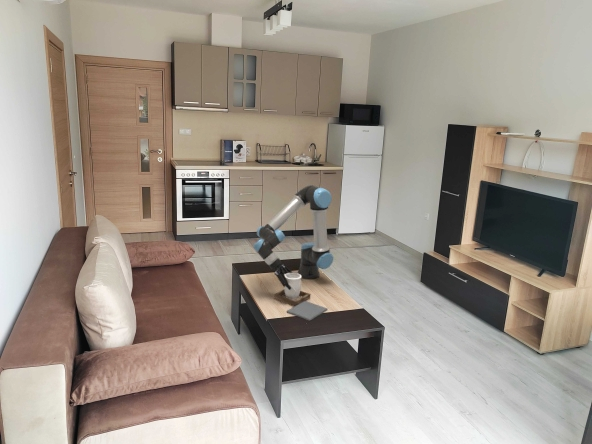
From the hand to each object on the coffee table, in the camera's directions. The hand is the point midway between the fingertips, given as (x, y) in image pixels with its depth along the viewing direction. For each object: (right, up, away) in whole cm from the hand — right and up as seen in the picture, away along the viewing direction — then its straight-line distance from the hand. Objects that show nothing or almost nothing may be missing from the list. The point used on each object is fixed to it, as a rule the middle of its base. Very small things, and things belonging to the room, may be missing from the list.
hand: (297, 289), depth 275 cm
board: (+6, -11, -13) cm, 18 cm away
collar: (-3, -6, +2) cm, 7 cm away
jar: (-3, -6, +3) cm, 7 cm away
